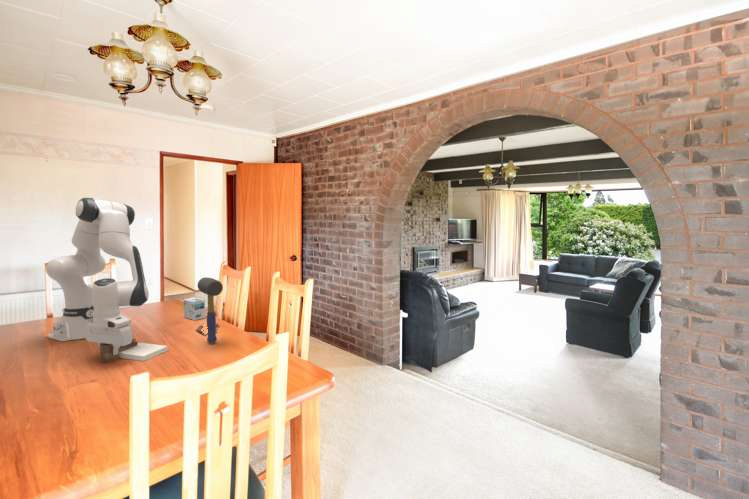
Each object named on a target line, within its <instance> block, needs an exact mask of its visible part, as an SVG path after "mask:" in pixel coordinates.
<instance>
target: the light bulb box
mask: <svg viewBox="0 0 749 499" xmlns="http://www.w3.org/2000/svg"><path fill="white" fill-rule="evenodd" d="M183 312H184V313H183V314H184V316H183V317H184V318H185V319H188V320H191V319H192V320H191V321H198V319H199V320H202V318H203V319H207V315H206V300H205V299H202V298H198V297H189V298H184V299H183Z"/></svg>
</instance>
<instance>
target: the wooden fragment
mask: <svg viewBox="0 0 749 499" xmlns="http://www.w3.org/2000/svg"><path fill="white" fill-rule="evenodd" d="M202 325H203V324H201V325H199V326H198V327H197V328H196V329H195V331H196V330H198V331H197V332H198V333H200V334H202V333H203V332H202V331H201V329H202V328H203V326H202ZM217 327H218V328H220V325H219V323H216V326H215V331H216V330H217V331H218V332H219V330H218V328H217ZM216 328H217V329H216ZM207 329H208V328H207ZM203 331H204V330H203ZM217 331H216V334H218V333H217ZM203 335H204V337H207V336H206V335H208V333H207V334H204V333H203V334H202V336H203Z"/></svg>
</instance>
